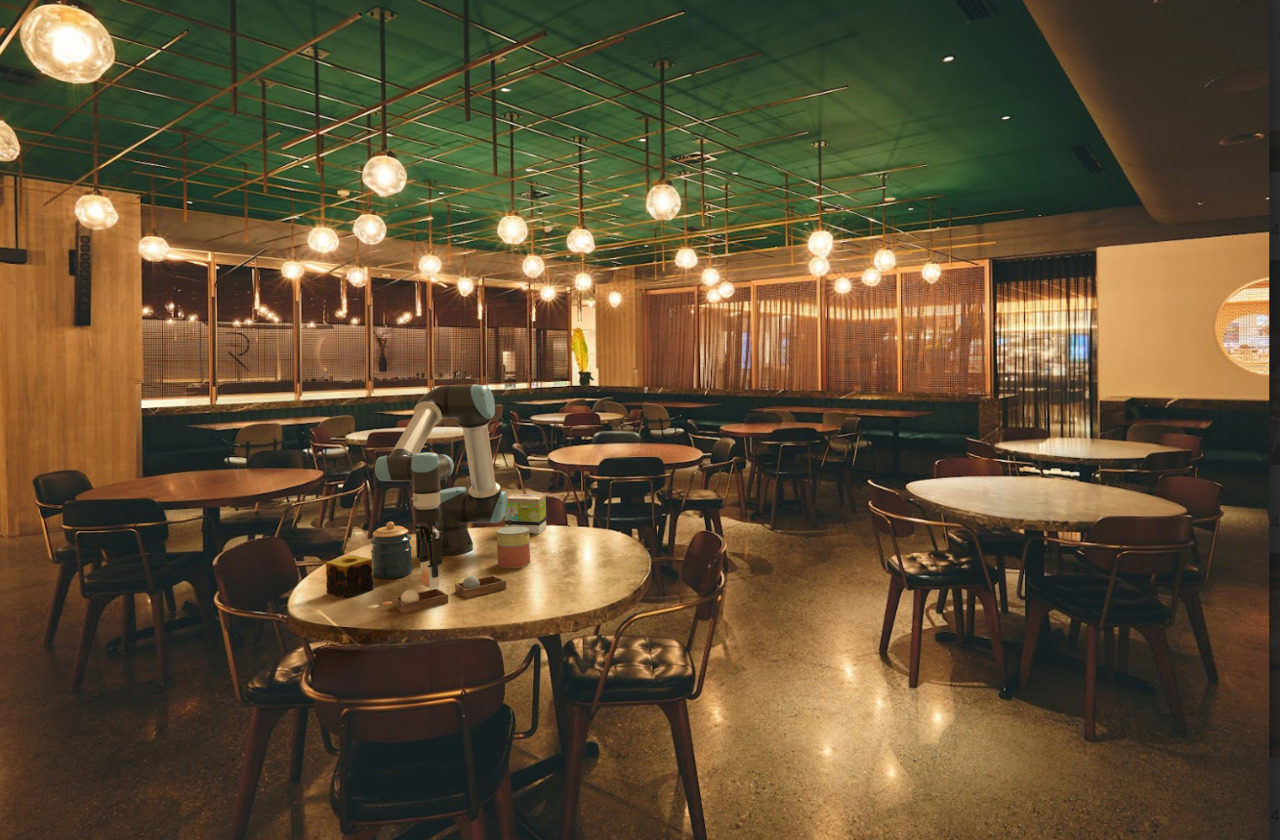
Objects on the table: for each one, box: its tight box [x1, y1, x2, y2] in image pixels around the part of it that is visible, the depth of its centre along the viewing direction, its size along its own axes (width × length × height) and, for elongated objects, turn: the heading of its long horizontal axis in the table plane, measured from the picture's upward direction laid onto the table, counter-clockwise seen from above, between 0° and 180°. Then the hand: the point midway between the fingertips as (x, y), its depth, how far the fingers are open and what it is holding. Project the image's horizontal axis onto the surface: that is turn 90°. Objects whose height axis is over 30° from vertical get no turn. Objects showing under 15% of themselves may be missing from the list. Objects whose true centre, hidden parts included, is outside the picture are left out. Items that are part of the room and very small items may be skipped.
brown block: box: [325, 554, 375, 600], centre depth 220 cm, size 10×10×10 cm
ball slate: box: [462, 575, 480, 589], centre depth 216 cm, size 5×5×5 cm
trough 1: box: [392, 588, 449, 614], centre depth 206 cm, size 8×13×3 cm, turn 130°
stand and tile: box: [367, 601, 393, 609], centre depth 214 cm, size 14×24×1 cm, turn 130°
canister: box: [369, 521, 413, 580], centre depth 239 cm, size 13×13×18 cm
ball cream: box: [400, 589, 419, 604], centre depth 204 cm, size 5×5×5 cm
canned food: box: [496, 526, 531, 569], centre depth 248 cm, size 11×11×12 cm
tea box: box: [504, 493, 547, 535], centre depth 296 cm, size 15×10×15 cm
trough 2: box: [454, 574, 507, 599], centre depth 218 cm, size 8×13×3 cm, turn 130°
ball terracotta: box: [419, 570, 429, 588], centre depth 207 cm, size 5×5×5 cm
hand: (430, 585), depth 208 cm, fingers closed on ball terracotta, 5 cm apart
